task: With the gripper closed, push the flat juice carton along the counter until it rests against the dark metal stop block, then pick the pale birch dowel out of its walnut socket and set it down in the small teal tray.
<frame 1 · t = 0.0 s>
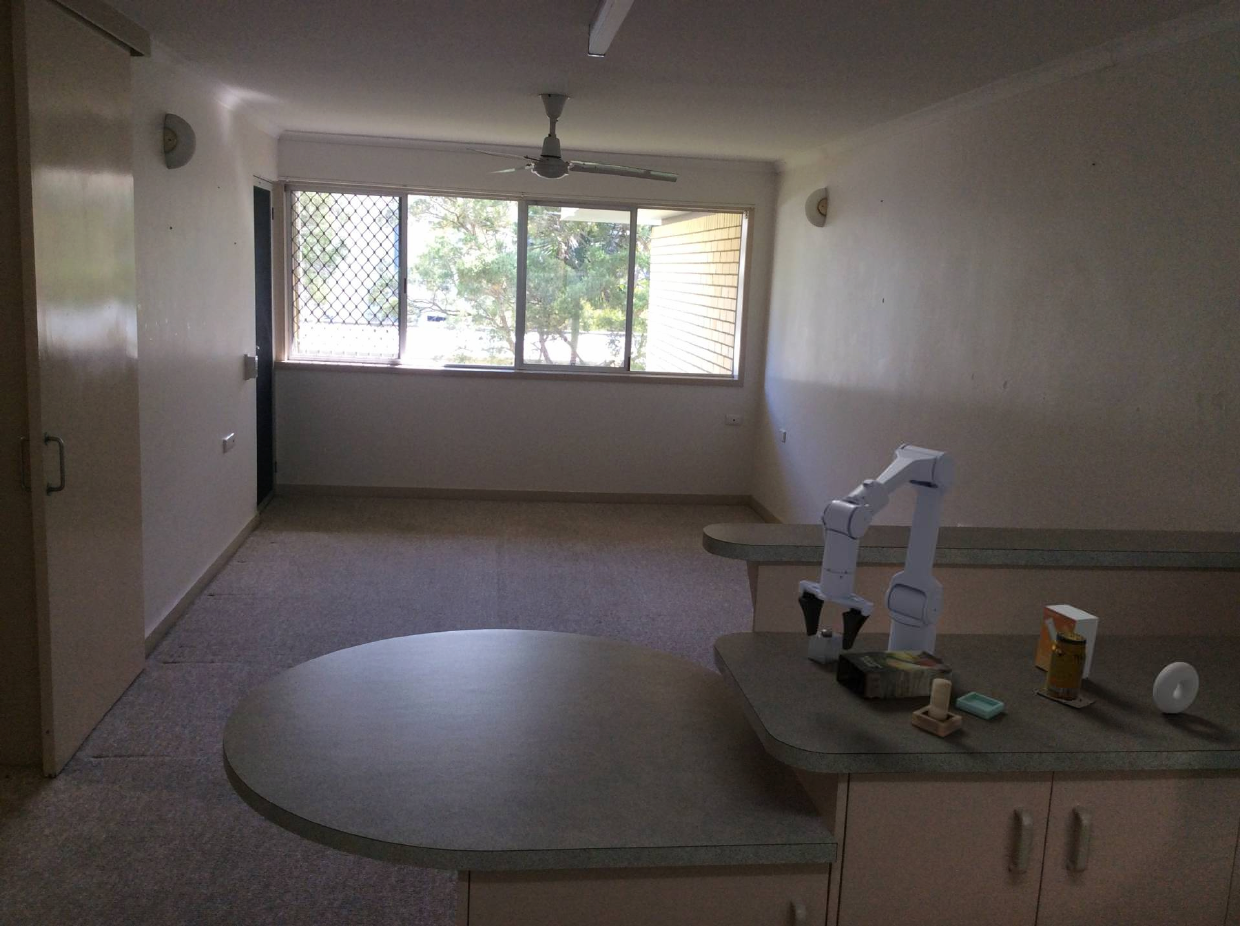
hand: (829, 641, 178), 10 cm above the table, tool pointing down, fingers open, 7 cm apart
small box: (1060, 673, 201), on the table
juice carton: (893, 689, 187), on the table
tray: (979, 709, 180), on the table
grey round disc: (1170, 714, 186), on the table
socket: (935, 725, 171), on the table
dowel: (939, 704, 171), in the socket
stop block: (823, 658, 198), on the table
condiment: (1064, 698, 189), on the table
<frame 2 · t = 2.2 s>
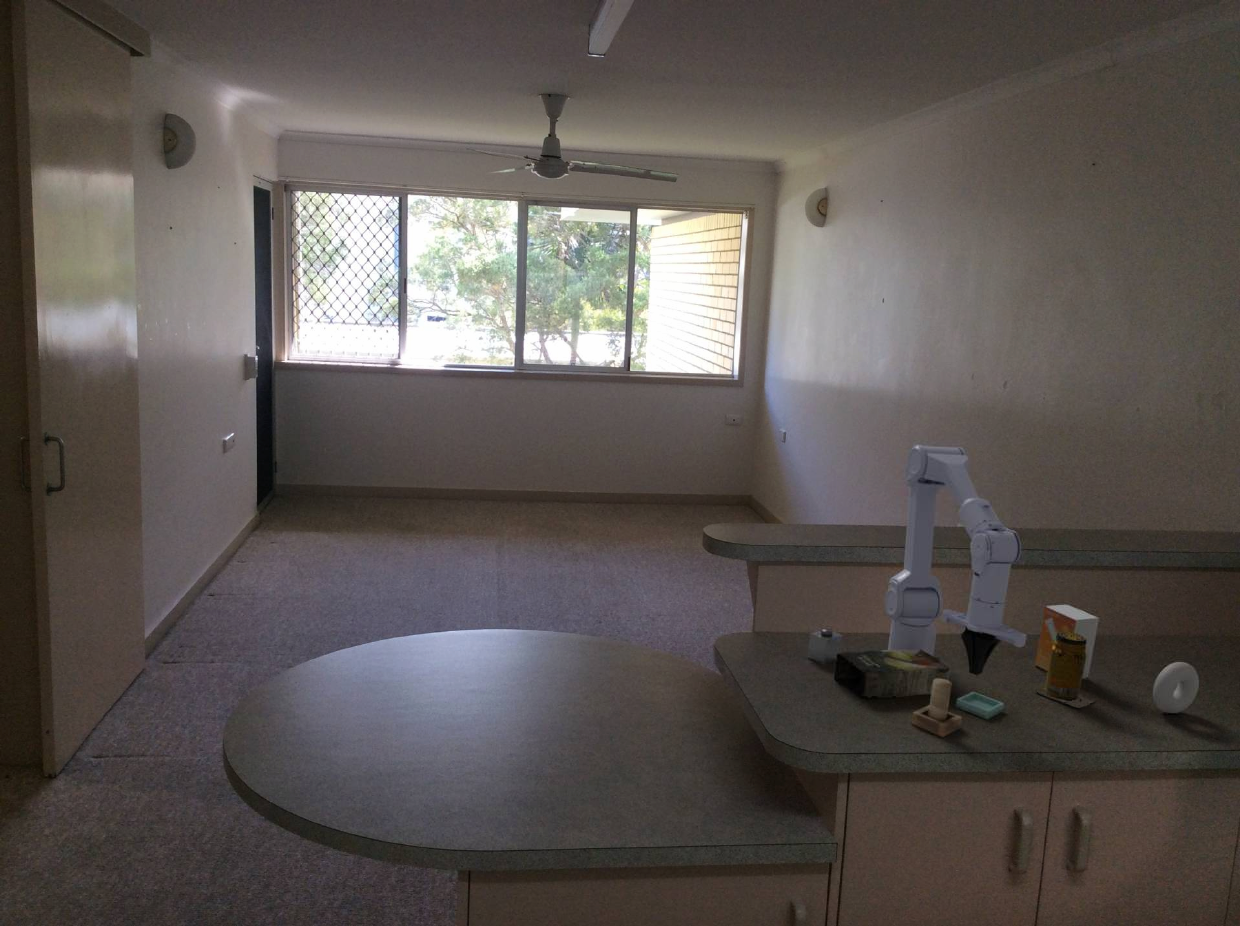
hand: (975, 672, 175), 8 cm above the table, tool pointing down, fingers closed
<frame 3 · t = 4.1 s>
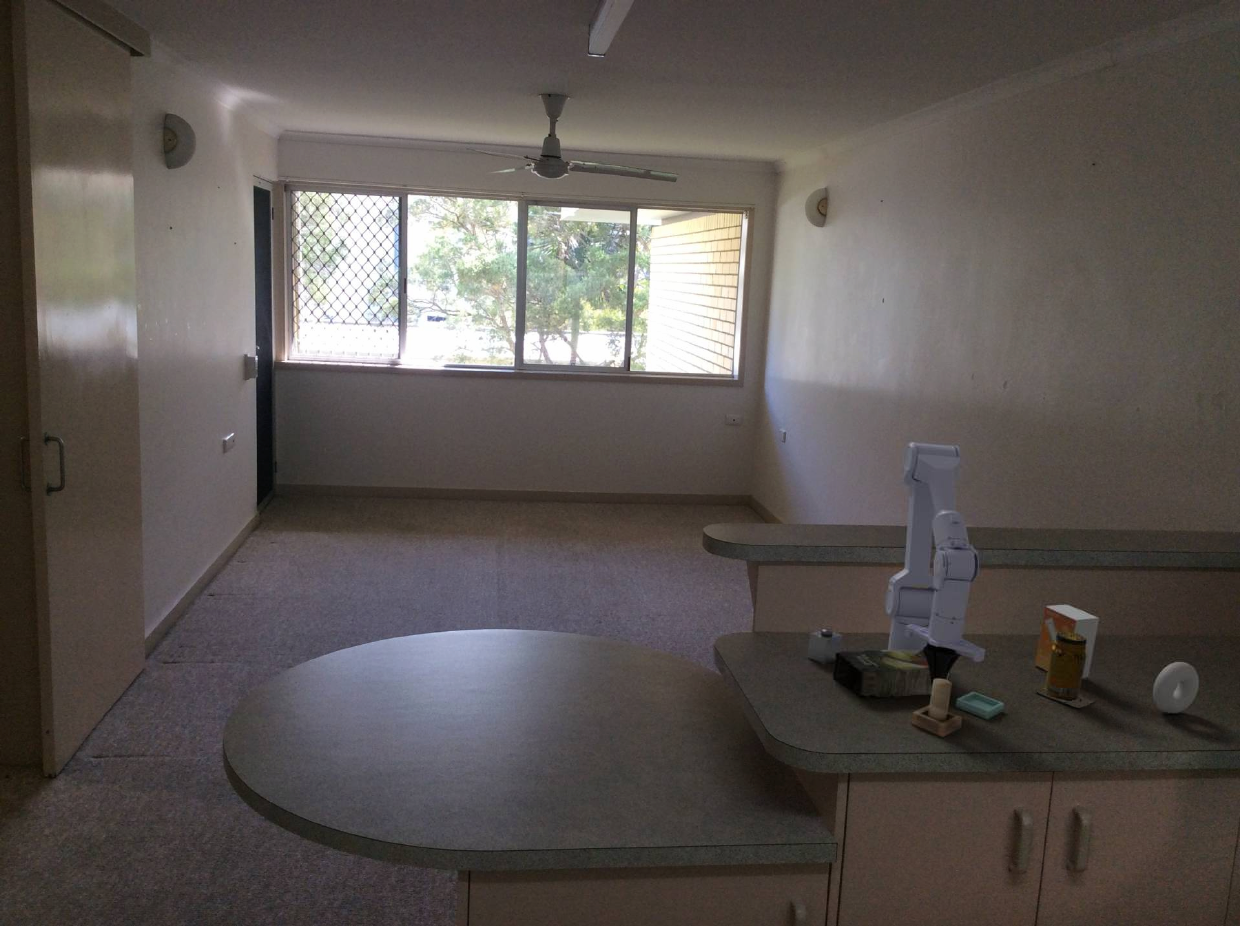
hand: (937, 685, 180), 3 cm above the table, tool pointing down, fingers closed
nothing on the table moved.
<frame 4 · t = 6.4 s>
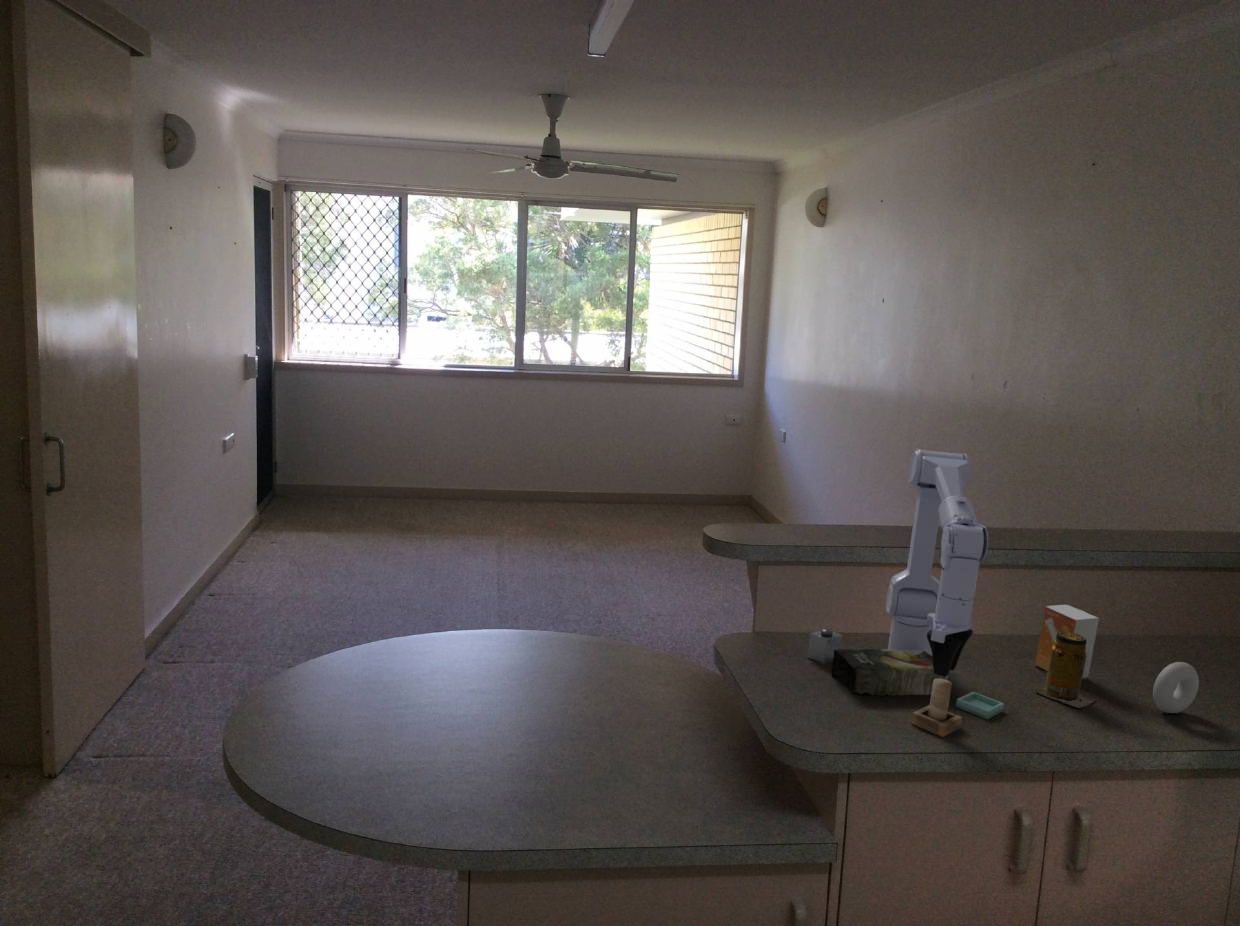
hand: (944, 671, 170), 10 cm above the table, tool pointing down, fingers open, 3 cm apart
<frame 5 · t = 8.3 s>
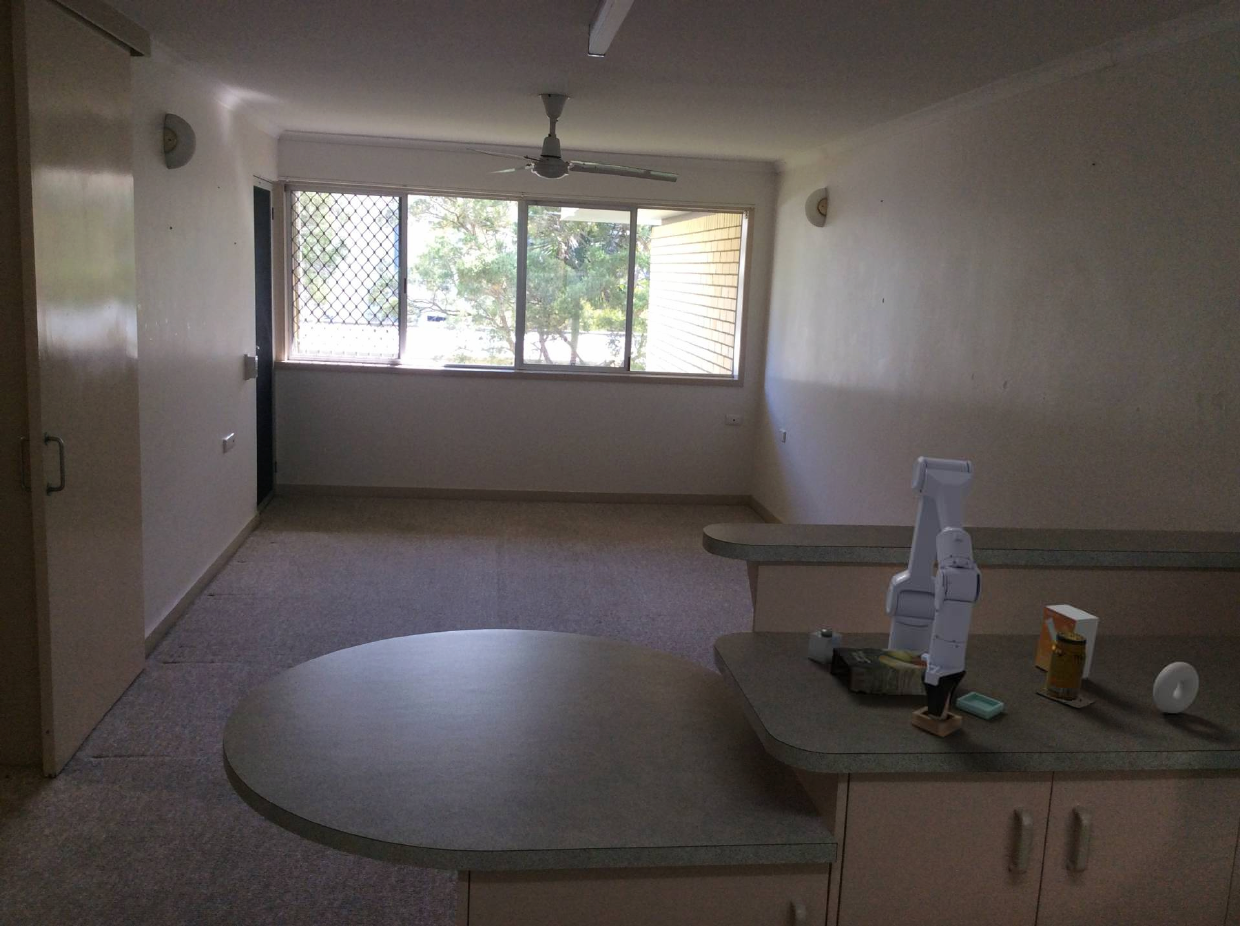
hand: (938, 711, 171), 3 cm above the table, tool pointing down, fingers closed on dowel, 3 cm apart
dowel: (939, 704, 171), in the socket, touching gripper
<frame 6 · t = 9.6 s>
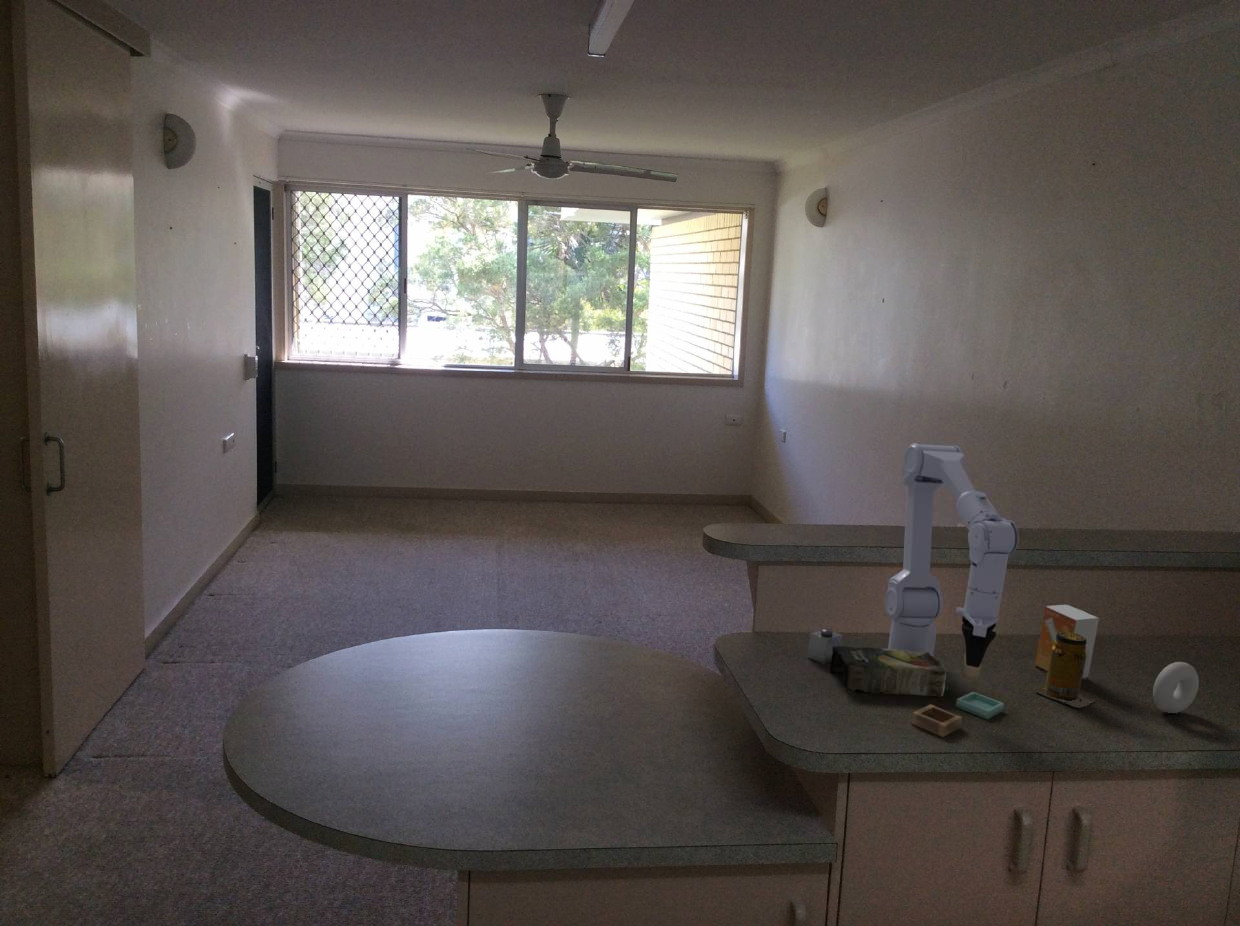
hand: (972, 662, 175), 10 cm above the table, tool pointing down, fingers closed on dowel, 3 cm apart
dowel: (973, 654, 175), point 11 cm above the table, touching gripper
when the fingers open (5 cm above the table, at t = 11.2 s): dowel drops 1 cm, resting on tray.
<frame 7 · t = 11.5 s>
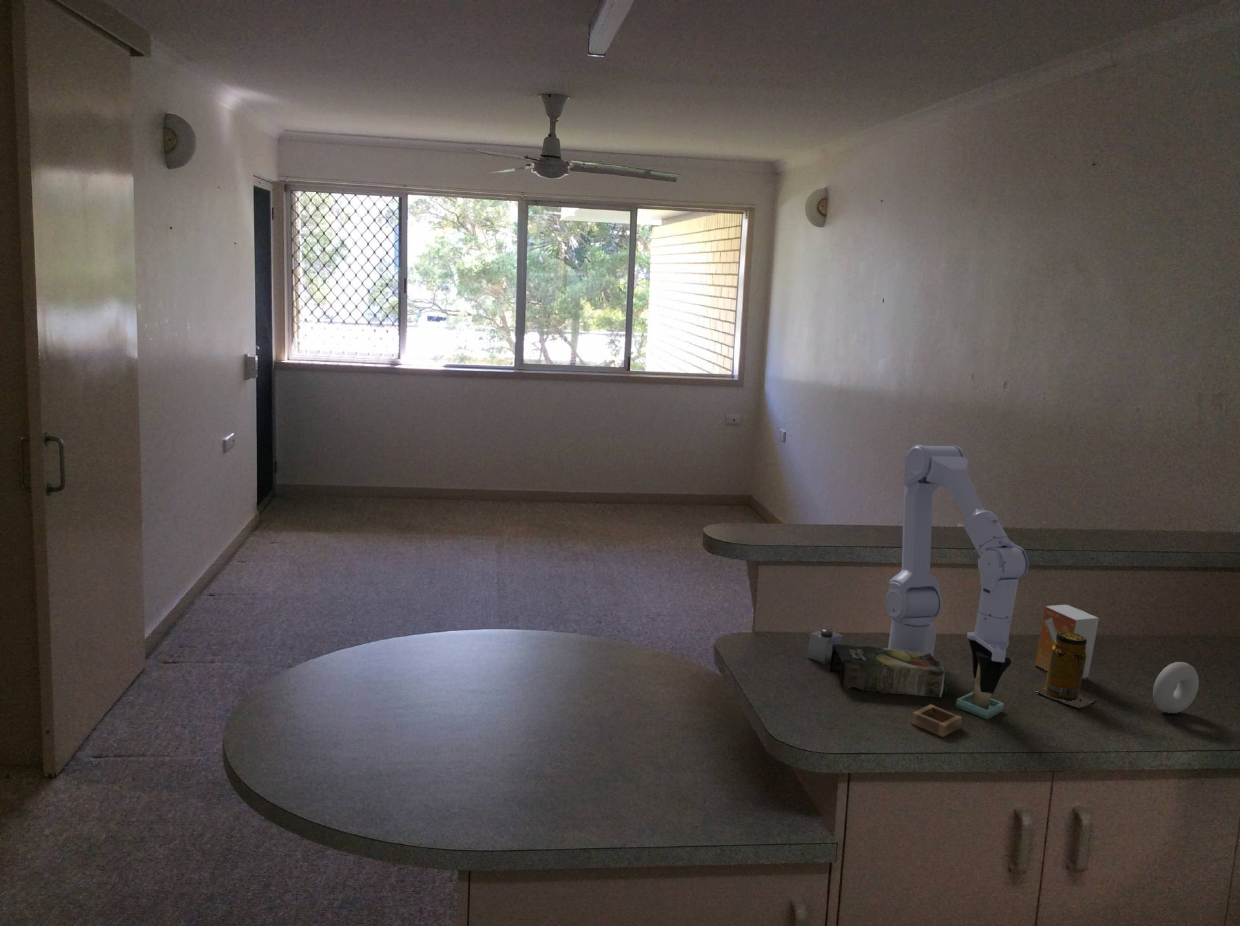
hand: (983, 685, 179), 5 cm above the table, tool pointing down, fingers open, 6 cm apart
dowel: (983, 684, 179), point 5 cm above the table, touching tray
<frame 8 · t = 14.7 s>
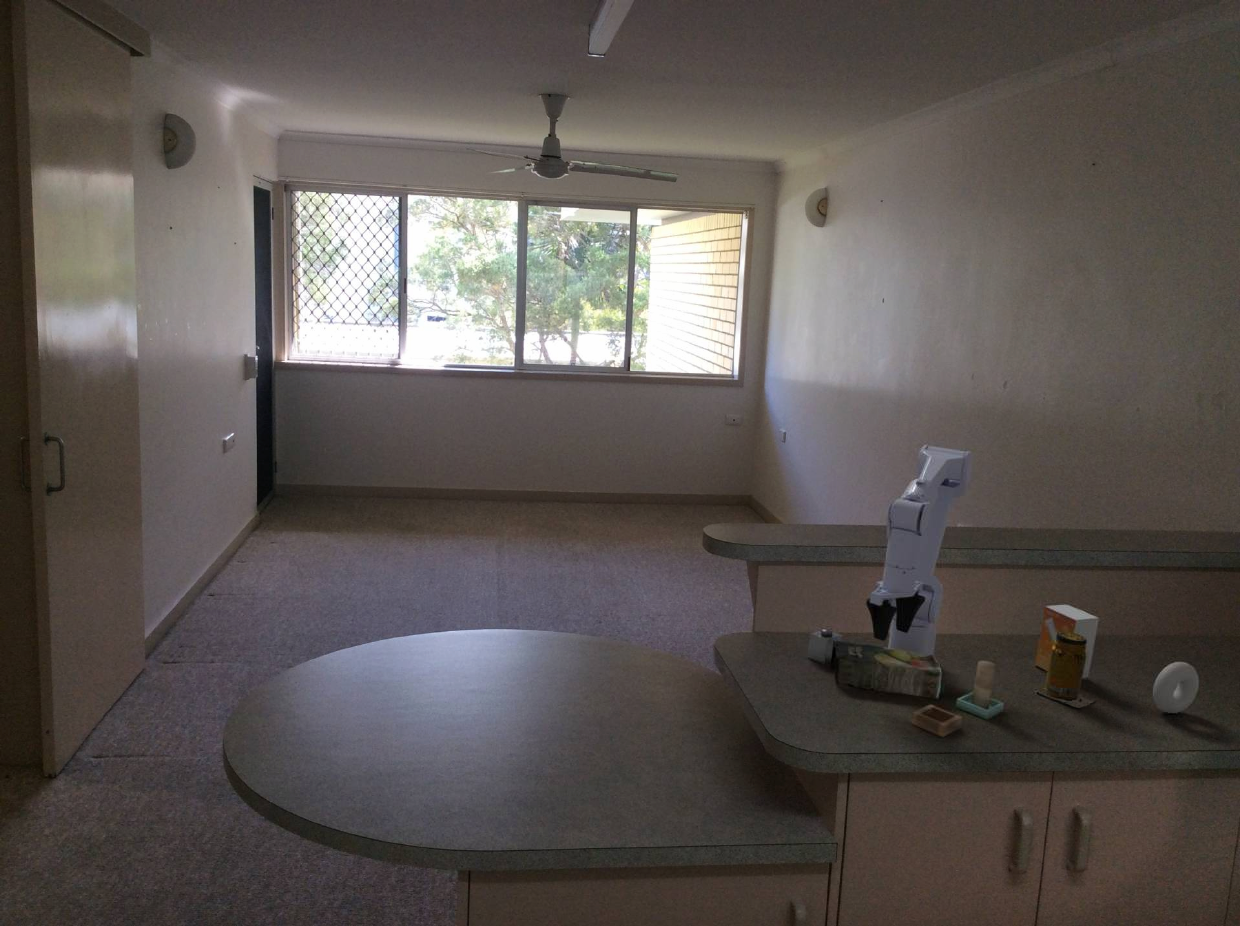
hand: (891, 635, 185), 10 cm above the table, tool pointing down, fingers open, 7 cm apart
at the end: juice carton 2.0 cm from the target spot, on the table; dowel 0.0 cm off-centre on the tray, point 4.6 cm above the tray's base; the gripper is holding nothing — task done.
